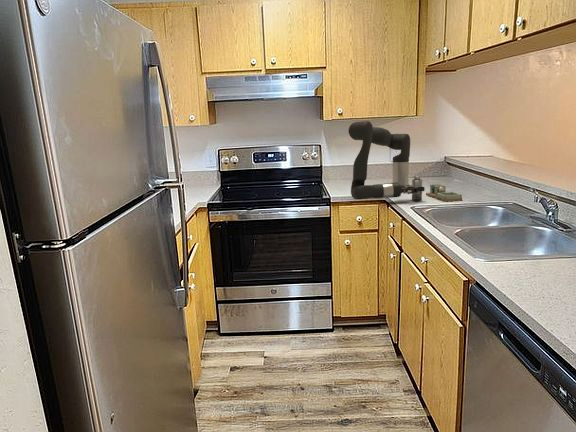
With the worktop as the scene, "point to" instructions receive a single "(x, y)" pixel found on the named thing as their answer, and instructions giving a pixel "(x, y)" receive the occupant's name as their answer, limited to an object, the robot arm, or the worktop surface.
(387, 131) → the robot arm
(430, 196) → the base board
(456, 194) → the hub seat
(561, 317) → the worktop surface
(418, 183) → the grey bottle
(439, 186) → the shaft and pillow blocks
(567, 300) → the worktop surface
